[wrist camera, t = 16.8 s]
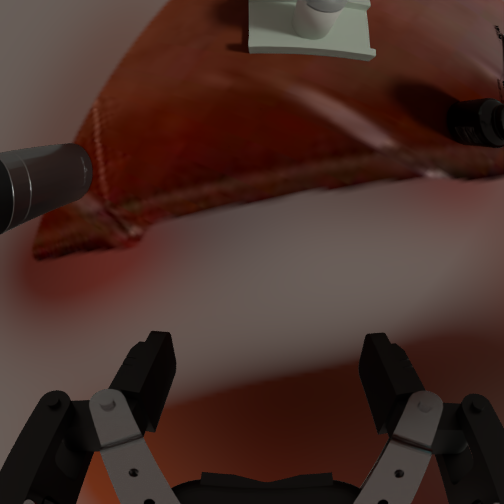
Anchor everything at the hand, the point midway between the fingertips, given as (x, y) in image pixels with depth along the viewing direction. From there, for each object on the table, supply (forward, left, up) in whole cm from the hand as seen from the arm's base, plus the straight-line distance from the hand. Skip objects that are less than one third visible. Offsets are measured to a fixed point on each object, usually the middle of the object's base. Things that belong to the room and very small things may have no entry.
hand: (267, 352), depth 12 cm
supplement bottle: (+30, +14, -30) cm, 45 cm away
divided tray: (+6, +29, -30) cm, 42 cm away
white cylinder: (+6, +25, -29) cm, 39 cm away
